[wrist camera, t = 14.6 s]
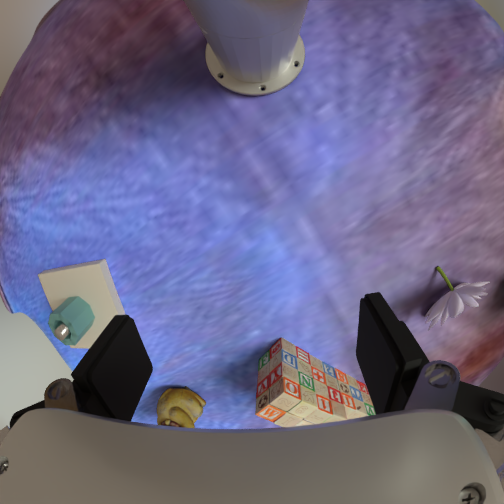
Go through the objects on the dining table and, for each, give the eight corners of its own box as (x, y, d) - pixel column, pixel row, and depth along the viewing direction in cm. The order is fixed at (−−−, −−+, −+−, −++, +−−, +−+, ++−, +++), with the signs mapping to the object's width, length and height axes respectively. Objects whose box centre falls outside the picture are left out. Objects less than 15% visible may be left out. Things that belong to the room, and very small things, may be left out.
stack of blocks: (366, 383, 47) (383, 431, 35) (343, 401, 48) (355, 450, 37) (280, 336, 43) (283, 393, 32) (257, 359, 45) (254, 416, 34)
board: (44, 270, 42) (12, 292, 33) (105, 258, 40) (72, 284, 31) (75, 342, 47) (52, 370, 38) (137, 342, 45) (116, 377, 36)
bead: (62, 297, 41) (43, 314, 35) (85, 295, 40) (66, 313, 35) (75, 326, 43) (59, 344, 37) (99, 325, 42) (82, 345, 37)
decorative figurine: (185, 414, 51) (170, 470, 37) (153, 393, 50) (130, 450, 36) (213, 396, 49) (200, 460, 35) (178, 374, 47) (155, 437, 33)
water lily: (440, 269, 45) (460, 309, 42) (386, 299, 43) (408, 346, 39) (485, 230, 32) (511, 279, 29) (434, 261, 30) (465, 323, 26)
